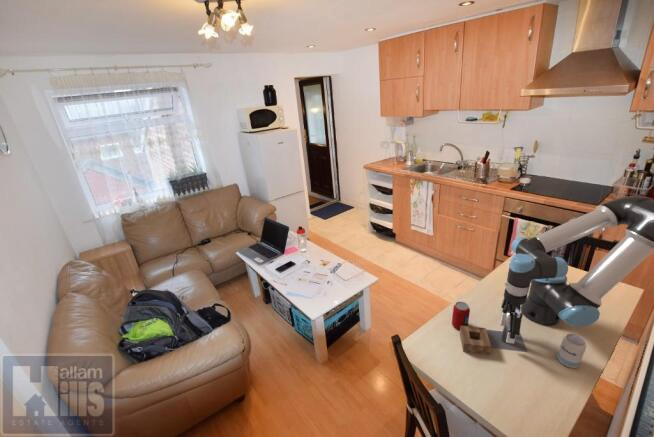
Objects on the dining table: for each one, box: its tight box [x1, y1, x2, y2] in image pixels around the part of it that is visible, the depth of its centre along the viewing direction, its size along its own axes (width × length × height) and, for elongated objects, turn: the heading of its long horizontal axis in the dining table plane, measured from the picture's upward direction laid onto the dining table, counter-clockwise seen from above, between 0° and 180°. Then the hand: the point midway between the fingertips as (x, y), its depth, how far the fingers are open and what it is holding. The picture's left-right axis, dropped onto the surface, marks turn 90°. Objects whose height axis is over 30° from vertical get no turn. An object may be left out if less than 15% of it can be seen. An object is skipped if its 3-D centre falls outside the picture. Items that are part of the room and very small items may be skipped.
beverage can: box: [451, 301, 471, 331], centre depth 134 cm, size 7×7×12 cm
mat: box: [486, 329, 529, 353], centre depth 127 cm, size 14×10×1 cm
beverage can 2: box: [556, 333, 587, 369], centre depth 113 cm, size 7×7×12 cm
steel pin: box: [501, 311, 514, 343], centre depth 124 cm, size 3×3×15 cm
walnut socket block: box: [459, 325, 492, 356], centre depth 126 cm, size 10×10×5 cm
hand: (506, 333), depth 125 cm, fingers open, 9 cm apart
